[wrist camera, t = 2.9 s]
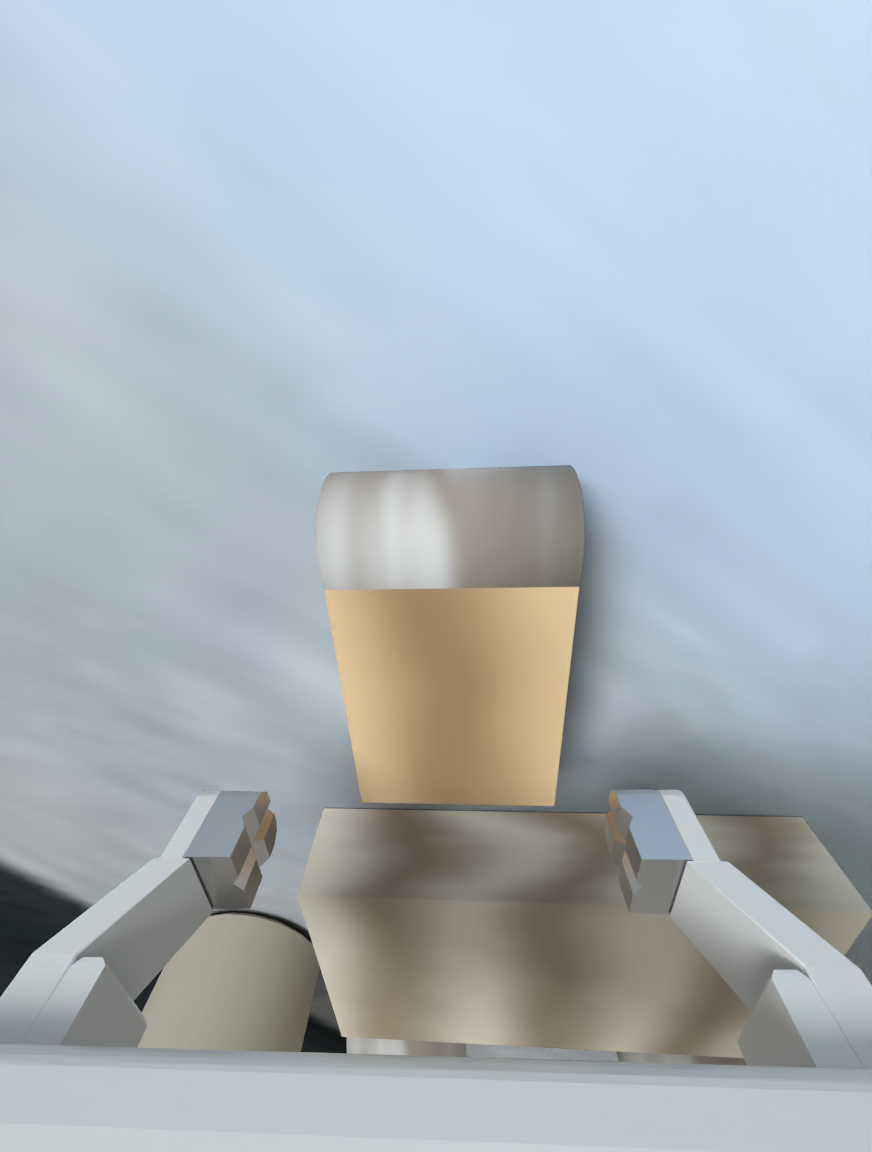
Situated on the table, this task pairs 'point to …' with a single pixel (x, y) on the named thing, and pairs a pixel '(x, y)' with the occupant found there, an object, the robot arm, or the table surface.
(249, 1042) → the travel mug
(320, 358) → the table surface
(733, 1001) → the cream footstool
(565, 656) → the tan rectangular block
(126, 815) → the table surface
